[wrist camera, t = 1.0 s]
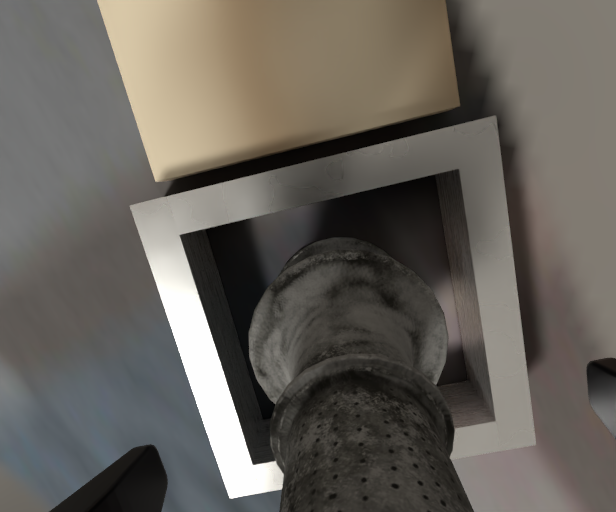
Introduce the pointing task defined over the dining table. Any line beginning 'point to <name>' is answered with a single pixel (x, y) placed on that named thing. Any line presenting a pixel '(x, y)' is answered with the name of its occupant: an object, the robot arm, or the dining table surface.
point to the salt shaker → (356, 383)
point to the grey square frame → (323, 186)
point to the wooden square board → (274, 73)
